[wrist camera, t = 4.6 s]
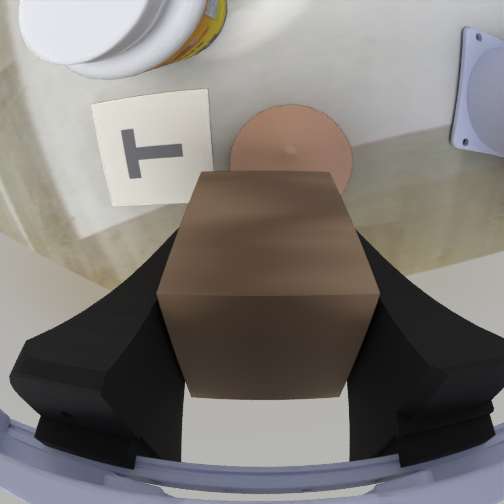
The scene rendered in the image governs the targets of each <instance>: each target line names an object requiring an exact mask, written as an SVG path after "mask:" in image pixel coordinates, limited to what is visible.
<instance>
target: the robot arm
mask: <svg viewBox="0 0 504 504" xmlns="http://www.w3.org/2000/svg"><path fill="white" fill-rule="evenodd" d="M476 34H477V35H478V40H477V39H476ZM464 139H465V143H464V144H462V141H463V140H464ZM451 143H452V145H453V146H454V147H456V148H459V149H465V150H470V151H475V152H481V153H486V154H490V155H495V156H500V157H504V41H503V40H501V39H499V38H496V37H494V36H492V35H490V34H487V33H485V32H483V31H480V30H478V29H475V28H473V27H466V28H465V29H464V31H463V46H462V60H461V71H460V81H459V89H458V97H457V104H456V111H455V117H454V123H453V129H452V135H451ZM178 230H179V228H178V229H177V230H176V231H175V232H174V233H173V234H172V235H171V236H170V237H169V238H168V239H167V240H166V242H165V243H164V244H163V245H162V246H161V247H160V248H159V249H158V250H157V251H156V252H155V253H154V254H153V255H152V256H151V257H150V258H149V259H148V260H147V261H146V262H145V263H144V264H143V265H142V266H141V267H140V268H138V269H137V270H136V271H135V272H134V273H133V274H132V275H131V276H130V277H129V278H128V279H126V280H125V281H124V282H123V283H122V284H120V285H119V286H118V287H117V288H115V289H114V290H113V291H112V292H110V293H109V294H108V295H106V296H105V297H104V298H102V299H100V300H99V301H97V302H96V303H95V304H93V305H92V306H90V307H89V308H87V309H86V310H84V311H83V312H81V313H79V314H78V315H76V316H74V317H73V318H71V319H69V320H68V321H66V322H64V323H62V324H60V325H58V326H56V327H55V328H53V329H51V330H48V331H46V332H44V333H42V334H40V335H38V336H36V337H34V338H31V339H29V340H27V341H26V342H25V344H24V346H23V348H22V350H21V352H20V354H19V356H18V359H17V361H16V363H15V365H14V367H13V369H12V372H11V374H10V376H9V377H10V383H11V385H12V387H13V389H14V390H15V391H16V392H17V393H18V395H19V396H20V397H22V399H24V401H26V402H27V403H28V404H29V405H30V406H31V407H32V408H33V409H34V410H35V411H36V412H37V413H39V414H40V415H41V417H40V420H39V423H38V426H37V429H36V428H33V427H30V426H28V425H25V424H22V423H20V422H17V421H15V420H12V419H10V418H9V416H8V415H7V414H5V413H4V412H3V411H2V410H1V409H0V488H1V489H2V490H4V491H6V492H7V493H9V494H11V495H12V496H14V497H16V498H18V499H19V500H21V501H23V502H25V503H27V504H496V503H498V502H499V501H501V500H503V499H504V423H502V424H499V425H497V426H494V427H493V424H492V421H491V417H490V413H492V412H493V411H494V407H493V404H492V401H491V400H492V399H493V398H494V397H495V396H496V395H497V394H498V393H499V392H500V391H501V390H502V389H503V388H504V338H502V337H500V336H498V335H496V334H494V333H492V332H489V331H487V330H485V329H483V328H481V327H479V326H477V325H475V324H473V323H471V322H470V321H468V320H466V319H464V318H462V317H461V316H459V315H457V314H456V313H453V312H452V311H451V310H449V309H448V308H446V307H445V306H443V305H442V304H440V303H438V302H437V301H436V300H434V299H433V298H431V297H430V296H429V295H427V294H426V293H424V292H423V291H422V290H421V289H419V288H418V287H417V286H416V285H414V284H413V283H412V282H411V281H409V280H408V279H407V278H406V277H405V276H403V275H402V274H401V273H400V272H399V271H398V270H397V269H396V268H394V267H393V266H392V265H391V264H390V263H389V262H388V261H387V260H386V259H385V258H384V257H383V256H382V255H381V254H380V253H379V252H378V251H377V250H376V249H375V248H374V247H373V246H372V245H371V244H370V243H369V242H368V241H367V240H366V239H365V238H364V237H363V236H362V235H361V234H360V233H359V232H358V231H357V230H356V229H355V230H356V233H357V235H358V237H359V240H360V242H361V245H362V247H363V250H364V252H365V255H366V257H367V260H368V262H369V265H370V268H371V270H372V273H373V276H374V278H375V281H376V284H377V286H378V289H379V292H380V296H379V299H378V302H377V305H376V307H375V310H374V313H373V316H372V319H371V321H370V324H369V327H368V329H367V332H366V335H365V337H364V340H363V342H362V345H361V347H360V350H359V352H358V355H357V357H356V360H355V362H354V365H353V367H352V369H351V372H350V374H349V376H348V379H347V387H348V399H349V400H348V401H349V421H350V461H349V462H342V463H333V464H322V465H309V466H290V467H237V466H218V465H204V464H192V463H184V462H181V438H182V416H183V401H184V388H185V379H184V376H183V373H182V371H181V368H180V365H179V362H178V359H177V357H176V354H175V351H174V348H173V345H172V342H171V339H170V336H169V333H168V330H167V327H166V324H165V321H164V317H163V314H162V311H161V308H160V304H159V301H158V298H157V294H156V293H157V290H158V287H159V284H160V281H161V278H162V275H163V272H164V270H165V267H166V264H167V261H168V258H169V255H170V252H171V249H172V247H173V244H174V241H175V238H176V236H177V233H178ZM387 481H388V482H387ZM141 482H143V483H141ZM382 482H384V483H382ZM145 483H149V484H154V485H160V486H167V487H173V488H180V489H188V490H189V489H190V490H199V491H208V492H223V493H242V494H281V493H282V494H283V493H304V492H317V491H327V490H337V489H345V488H351V487H358V486H365V485H371V484H377V483H381V484H377V485H376V486H375V487H374V489H373V490H371V491H369V492H368V493H365V494H363V495H359V496H351V497H341V498H329V499H317V500H299V501H270V502H269V501H268V502H266V501H265V502H264V501H262V502H261V501H260V502H259V501H255V502H252V501H251V502H250V501H248V502H247V501H246V502H245V501H217V500H216V501H215V500H198V499H186V498H176V497H173V496H170V495H168V494H166V493H164V492H163V490H162V489H161V488H160V487H156V486H152V485H149V484H145Z"/></svg>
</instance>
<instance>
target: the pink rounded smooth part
mask: <svg viewBox="0 0 504 504" xmlns="http://www.w3.org/2000/svg"><path fill="white" fill-rule="evenodd" d="M352 162H353V161H352V152H351V148H350V145H349V142H348V140H347V138H346V136H345V134H344V133H343V131H342V130H341V129H340V127H339V126H338V125H337V124H336V123H335V122H334V121H333V120H332V119H331V118H329V117H328V116H327V115H325V114H324V113H322V112H320V111H318V110H316V109H313V108H310V107H306V106H302V105H281V106H276V107H272V108H269V109H267V110H265V111H262V112H260V113H259V114H257V115H256V116H254V117H253V118H251V119H250V120H249V121H248V122H247V123H246V124H245V125H244V126H243V127H242V129H241V130H240V132H239V133H238V135H237V136H236V139H235V141H234V143H233V146H232V150H231V155H230V171H320V172H330V174H331V176H332V178H333V180H334V182H335V185H336V187H337V189H338V191H339V193H340V196H341V194H342V193H343V191H344V190H345V188H346V186H347V184H348V182H349V179H350V176H351V172H352Z"/></svg>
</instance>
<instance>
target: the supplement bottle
mask: <svg viewBox="0 0 504 504" xmlns="http://www.w3.org/2000/svg"><path fill="white" fill-rule="evenodd" d="M226 13H227V3H226V0H20V4H19V26H20V30H21V33H22V36H23V39H24V40H25V42H26V44H27V46H28V47H29V48H30V50H31V51H32V52H33V53H34V54H36V55H37V56H38V57H39V58H41V59H42V60H45V61H47V62H50V63H53V64H57V65H64V66H65V67H66V68H68V69H69V70H71V71H73V72H75V73H77V74H79V75H82V76H85V77H88V78H93V79H102V80H111V79H121V78H126V77H131V76H135V75H138V74H141V73H143V72H146V71H149V70H152V69H155V68H158V67H161V66H164V65H168V64H171V63H174V62H178V61H181V60H184V59H187V58H189V57H192V56H194V55H196V54H198V53H199V52H201V51H202V50H204V49H205V48H206V47H208V46H209V45H210V44H211V43H212V42H213V41H214V40H215V39H216V37H217V36H218V35H219V33H220V31H221V29H222V27H223V25H224V22H225V19H226Z"/></svg>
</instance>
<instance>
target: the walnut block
mask: <svg viewBox="0 0 504 504" xmlns="http://www.w3.org/2000/svg"><path fill="white" fill-rule="evenodd" d="M156 294H157V298H158V301H159V304H160V308H161V311H162V314H163V317H164V321H165V324H166V327H167V330H168V333H169V336H170V339H171V342H172V345H173V348H174V351H175V354H176V357H177V359H178V362H179V365H180V368H181V371H182V373H183V376H184V379H185V382H186V384H187V387H188V390H189V392H190V395H191V397H197V398H213V399H238V400H239V399H240V400H287V399H289V400H290V399H313V398H314V399H315V398H330V397H331V398H332V397H339V396H340V394H341V392H342V390H343V388H344V385H345V383H346V381H347V379H348V376H349V374H350V372H351V369H352V367H353V365H354V362H355V360H356V357H357V355H358V352H359V350H360V347H361V345H362V342H363V340H364V337H365V335H366V332H367V329H368V327H369V324H370V321H371V319H372V316H373V313H374V310H375V307H376V305H377V302H378V299H379V296H380V292H379V289H378V286H377V284H376V281H375V278H374V276H373V273H372V270H371V268H370V265H369V262H368V260H367V257H366V255H365V252H364V250H363V247H362V245H361V242H360V240H359V237H358V235H357V233H356V230H355V228H354V225H353V223H352V221H351V218H350V216H349V214H348V211H347V209H346V207H345V205H344V202H343V200H342V198H341V196H340V193H339V191H338V189H337V187H336V185H335V182H334V180H333V178H332V176H331V174H330V172H320V171H205V172H201V173H200V176H199V178H198V181H197V183H196V186H195V188H194V191H193V193H192V196H191V198H190V201H189V204H188V206H187V209H186V211H185V214H184V217H183V219H182V222H181V225H180V227H179V230H178V233H177V236H176V238H175V241H174V244H173V247H172V249H171V252H170V255H169V258H168V261H167V264H166V267H165V270H164V272H163V275H162V278H161V281H160V284H159V287H158V290H157V293H156Z"/></svg>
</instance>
